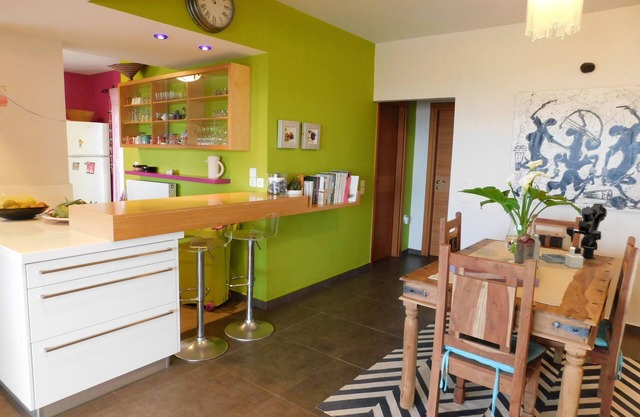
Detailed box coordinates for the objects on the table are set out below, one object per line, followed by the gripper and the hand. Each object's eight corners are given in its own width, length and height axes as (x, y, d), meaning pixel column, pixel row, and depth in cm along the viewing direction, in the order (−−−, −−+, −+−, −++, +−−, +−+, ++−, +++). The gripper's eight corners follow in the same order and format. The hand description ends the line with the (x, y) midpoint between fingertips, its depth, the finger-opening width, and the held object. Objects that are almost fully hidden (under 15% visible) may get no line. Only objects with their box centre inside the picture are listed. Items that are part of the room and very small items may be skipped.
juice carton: (522, 273, 242) (526, 235, 238) (513, 269, 248) (517, 232, 245) (531, 272, 243) (535, 234, 240) (523, 269, 250) (527, 232, 247)
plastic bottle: (539, 268, 252) (543, 235, 249) (527, 267, 253) (531, 234, 250) (536, 266, 258) (540, 233, 255) (524, 265, 259) (528, 232, 256)
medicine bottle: (576, 265, 263) (578, 246, 261) (582, 268, 256) (584, 249, 254) (564, 264, 263) (566, 245, 262) (569, 267, 256) (572, 248, 255)
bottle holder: (537, 257, 280) (538, 253, 279) (562, 258, 279) (563, 254, 279) (548, 263, 266) (548, 258, 265) (574, 264, 265) (575, 259, 265)
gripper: (568, 214, 272) (561, 233, 265) (602, 218, 259) (596, 238, 252) (570, 225, 278) (563, 243, 272) (604, 229, 265) (597, 249, 259)
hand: (579, 243), depth 264 cm, fingers open, 9 cm apart
